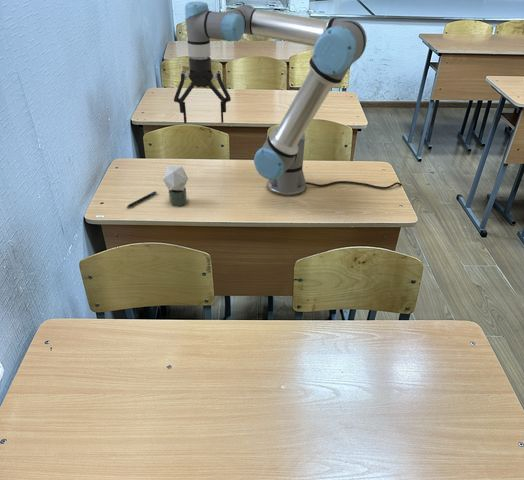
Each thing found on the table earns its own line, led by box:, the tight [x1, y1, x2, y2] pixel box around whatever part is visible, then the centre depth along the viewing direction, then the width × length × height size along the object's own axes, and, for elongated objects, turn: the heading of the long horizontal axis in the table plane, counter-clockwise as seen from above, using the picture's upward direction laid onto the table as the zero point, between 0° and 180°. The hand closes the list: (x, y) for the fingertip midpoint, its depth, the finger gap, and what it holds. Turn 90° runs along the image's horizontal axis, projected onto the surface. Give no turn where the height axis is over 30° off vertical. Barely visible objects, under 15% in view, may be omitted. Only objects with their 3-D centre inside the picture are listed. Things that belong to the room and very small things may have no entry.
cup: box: [168, 187, 188, 207], centre depth 191 cm, size 6×6×6 cm
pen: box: [126, 191, 157, 208], centre depth 192 cm, size 1×16×1 cm, turn 146°
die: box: [162, 165, 189, 192], centre depth 186 cm, size 8×9×10 cm
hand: (203, 121), depth 187 cm, fingers open, 13 cm apart
